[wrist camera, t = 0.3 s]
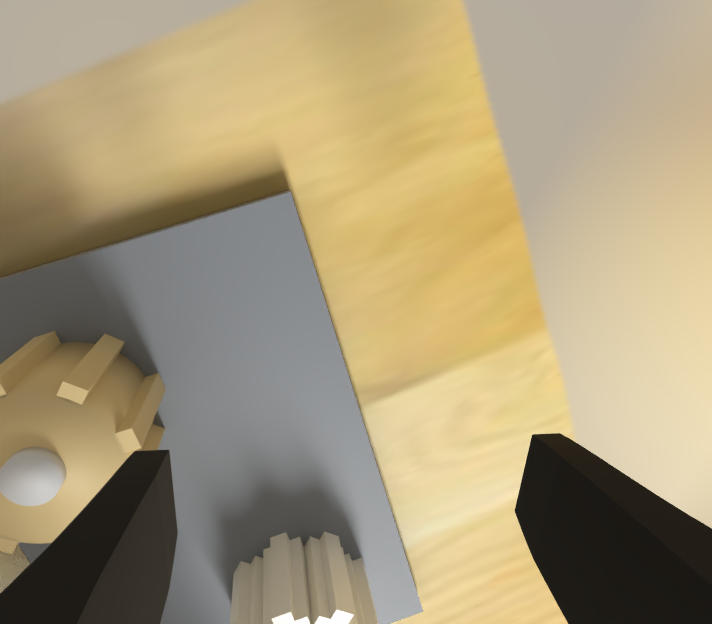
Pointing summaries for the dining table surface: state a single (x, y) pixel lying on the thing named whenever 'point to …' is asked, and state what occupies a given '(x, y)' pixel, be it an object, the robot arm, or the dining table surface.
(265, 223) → the gear board
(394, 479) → the dining table surface
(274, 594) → the gear
